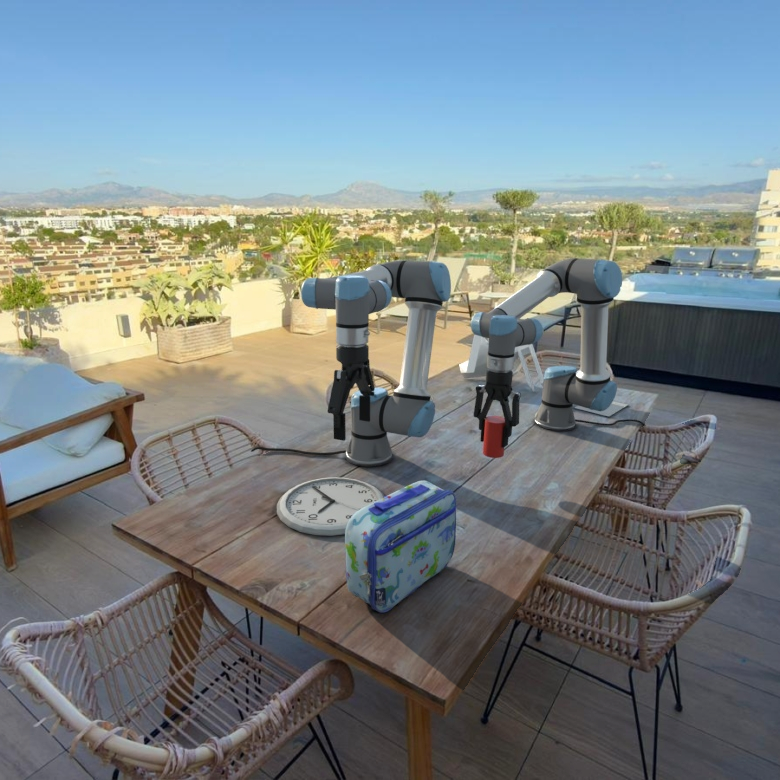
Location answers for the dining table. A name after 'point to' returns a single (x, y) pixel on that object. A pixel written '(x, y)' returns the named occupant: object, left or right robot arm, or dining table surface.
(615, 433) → the dining table surface
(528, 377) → the white plastic object
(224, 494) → the dining table surface
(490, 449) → the can
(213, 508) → the dining table surface
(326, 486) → the wall clock
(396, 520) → the lunch box
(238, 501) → the dining table surface
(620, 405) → the invitation card
